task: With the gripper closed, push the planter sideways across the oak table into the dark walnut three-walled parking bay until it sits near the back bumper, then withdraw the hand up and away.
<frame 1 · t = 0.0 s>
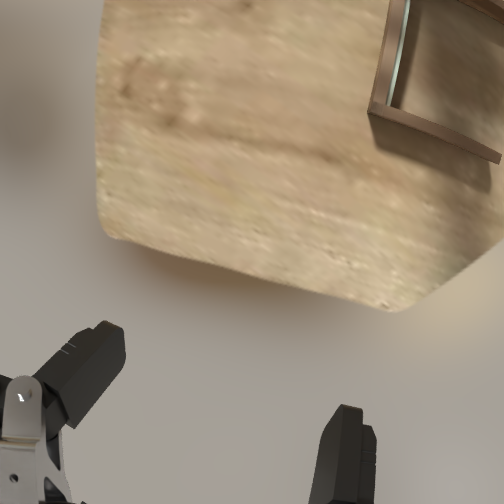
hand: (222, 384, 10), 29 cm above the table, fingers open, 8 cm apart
bay: (451, 60, 25), on the table
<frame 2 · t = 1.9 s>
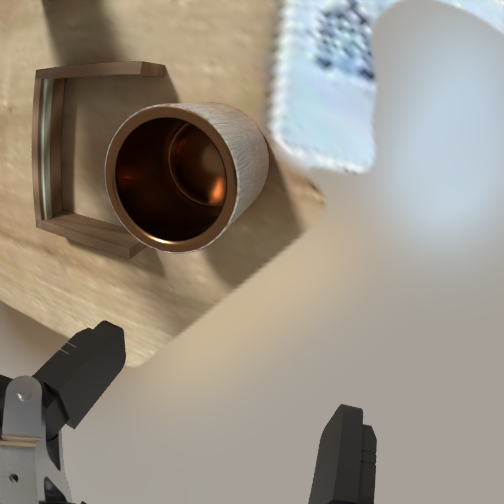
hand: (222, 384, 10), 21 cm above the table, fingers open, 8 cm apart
planter: (214, 159, 30), on the table
bay: (101, 151, 32), on the table
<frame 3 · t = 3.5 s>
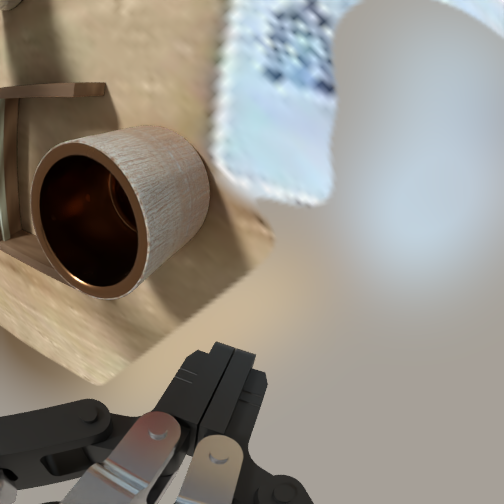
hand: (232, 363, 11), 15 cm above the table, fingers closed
planter: (155, 186, 27), on the table
bay: (51, 173, 29), on the table
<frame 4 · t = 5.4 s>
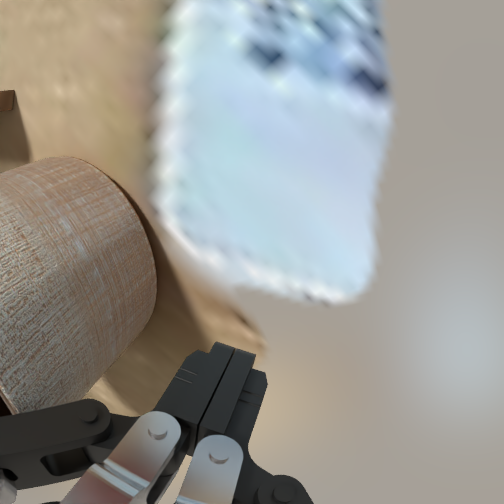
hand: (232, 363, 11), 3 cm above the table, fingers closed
planter: (83, 250, 16), on the table
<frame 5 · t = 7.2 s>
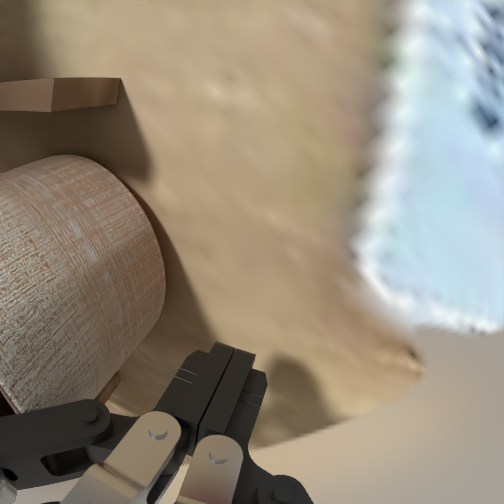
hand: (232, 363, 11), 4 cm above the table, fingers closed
planter: (88, 250, 16), on the table, touching hand
bay: (27, 236, 17), on the table
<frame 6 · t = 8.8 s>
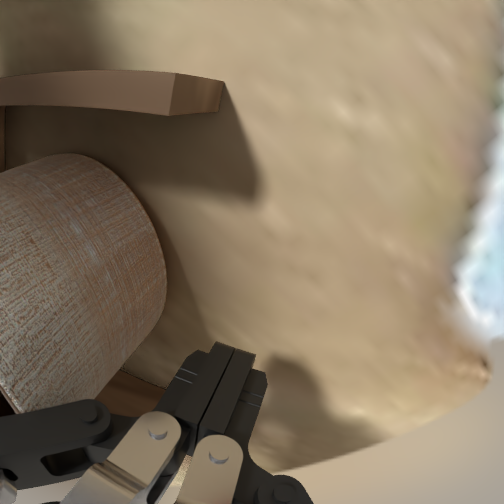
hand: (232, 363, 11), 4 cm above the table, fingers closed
planter: (89, 249, 16), on the table, touching hand
bay: (79, 254, 16), on the table
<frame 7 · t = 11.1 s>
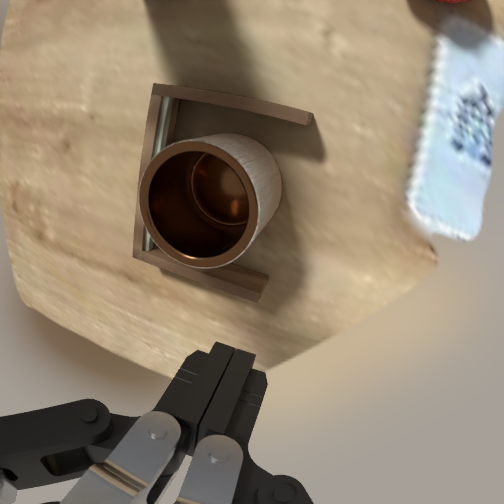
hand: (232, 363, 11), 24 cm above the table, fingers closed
planter: (232, 183, 34), on the table
bay: (224, 186, 34), on the table
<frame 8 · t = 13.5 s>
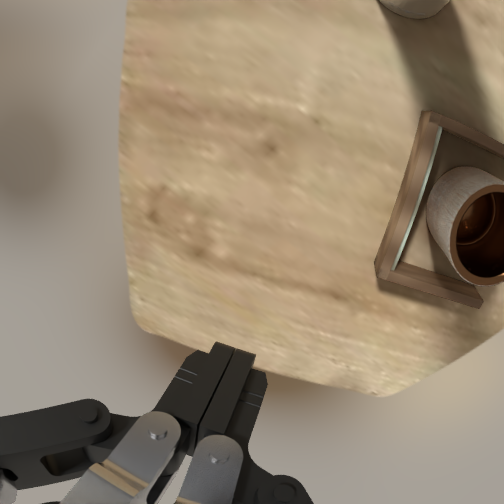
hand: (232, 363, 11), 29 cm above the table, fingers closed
planter: (463, 208, 33), on the table
bay: (458, 211, 33), on the table
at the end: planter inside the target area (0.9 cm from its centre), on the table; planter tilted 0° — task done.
